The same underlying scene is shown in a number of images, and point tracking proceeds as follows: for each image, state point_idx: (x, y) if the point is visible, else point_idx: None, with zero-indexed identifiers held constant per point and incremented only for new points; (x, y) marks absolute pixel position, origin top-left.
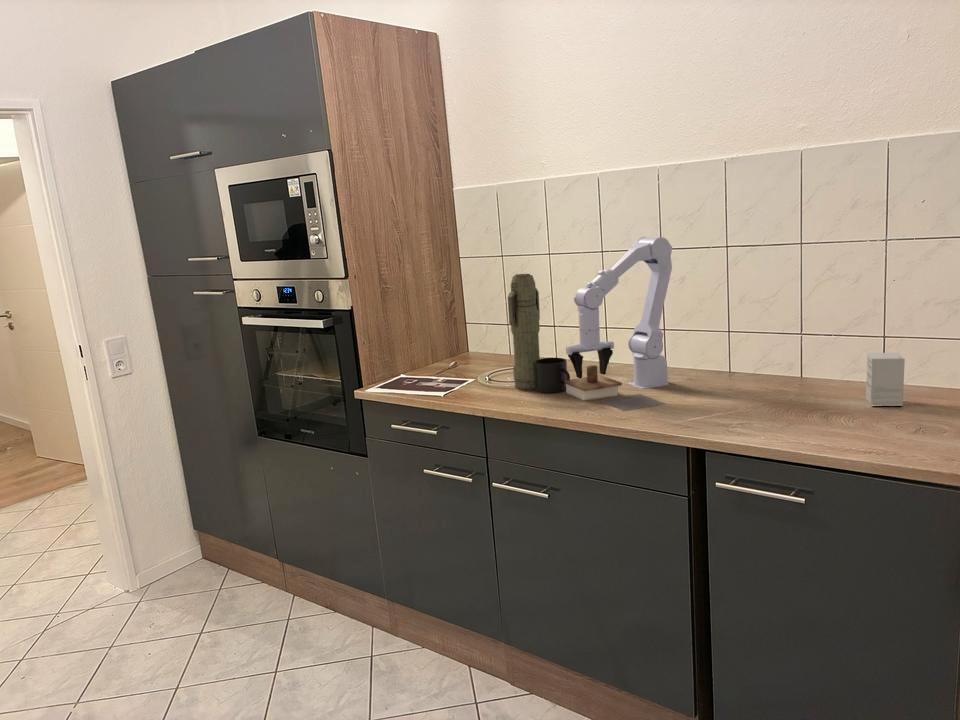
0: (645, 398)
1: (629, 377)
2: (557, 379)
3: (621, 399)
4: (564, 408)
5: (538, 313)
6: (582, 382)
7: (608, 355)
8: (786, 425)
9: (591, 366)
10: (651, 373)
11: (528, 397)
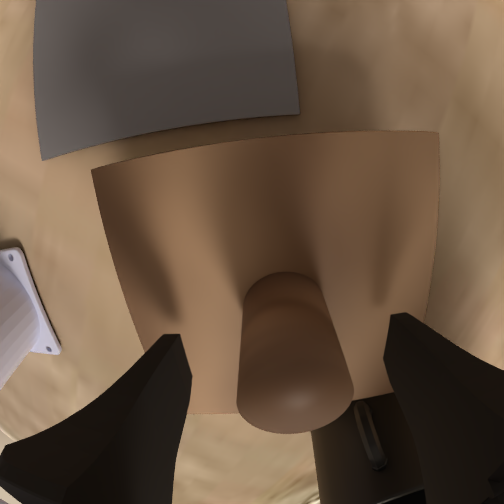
0: (53, 60)
1: (59, 413)
2: (402, 420)
3: (167, 76)
4: (492, 116)
5: None
6: (357, 316)
7: (60, 450)
8: None
9: (300, 402)
10: None
11: (488, 348)
